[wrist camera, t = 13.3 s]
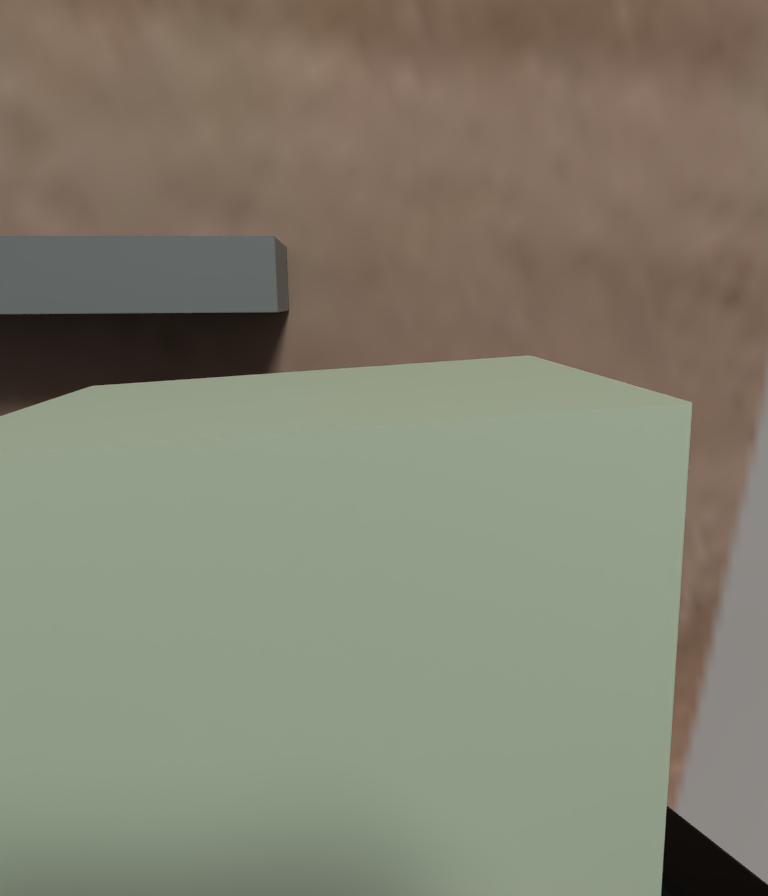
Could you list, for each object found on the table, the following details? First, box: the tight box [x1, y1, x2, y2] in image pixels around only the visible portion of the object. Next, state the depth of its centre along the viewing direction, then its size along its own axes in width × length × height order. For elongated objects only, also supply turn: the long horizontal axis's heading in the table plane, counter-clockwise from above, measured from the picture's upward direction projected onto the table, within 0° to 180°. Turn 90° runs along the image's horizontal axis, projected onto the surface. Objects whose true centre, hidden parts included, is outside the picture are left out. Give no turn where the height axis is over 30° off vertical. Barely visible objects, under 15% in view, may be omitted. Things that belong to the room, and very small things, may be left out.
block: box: [0, 355, 692, 896], centre depth 8 cm, size 6×12×4 cm, turn 4°
